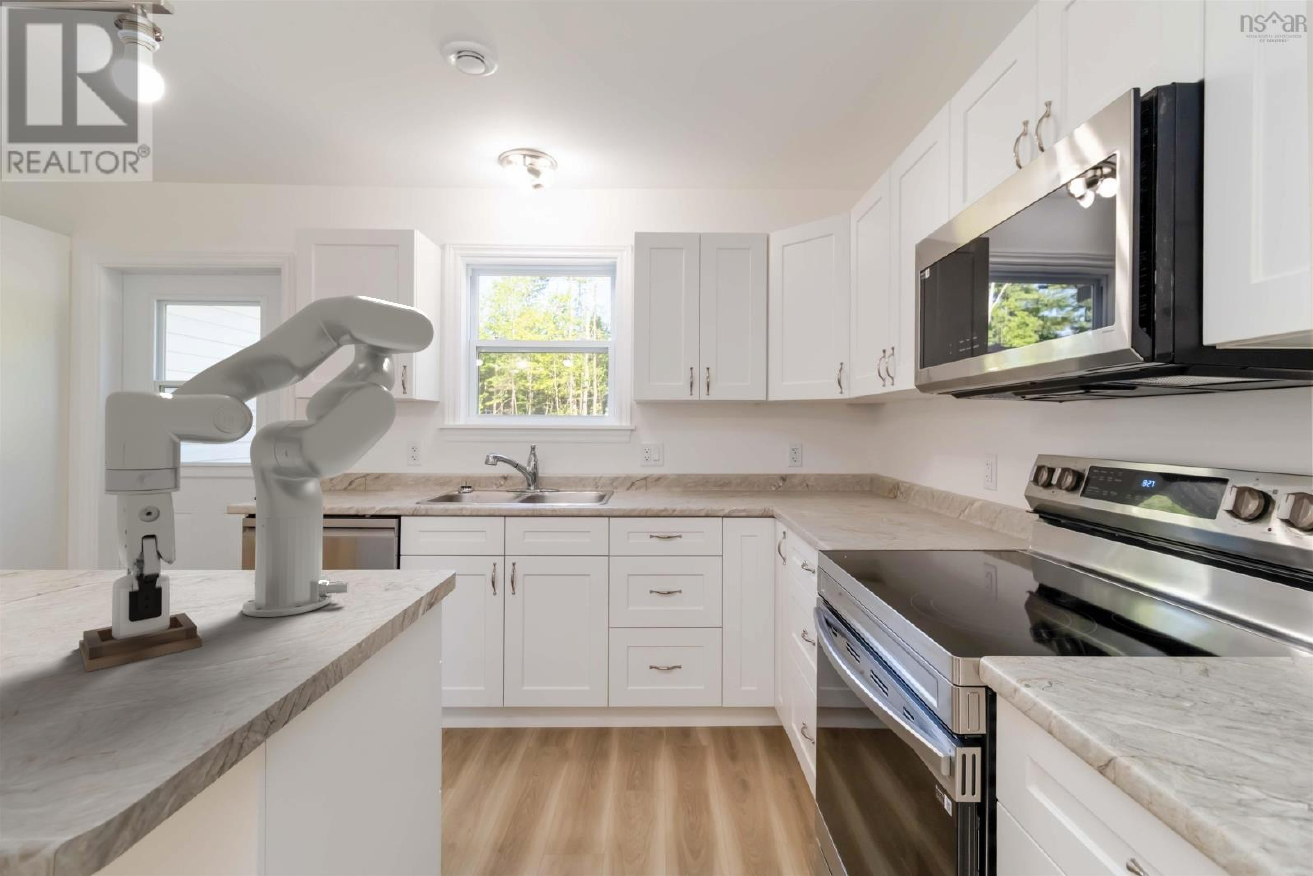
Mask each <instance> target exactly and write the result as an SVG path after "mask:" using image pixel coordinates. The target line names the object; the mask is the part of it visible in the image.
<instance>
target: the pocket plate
mask: <svg viewBox="0 0 1313 876" xmlns="http://www.w3.org/2000/svg"><path fill="white" fill-rule="evenodd" d="M82 632H83V633H82V639H79V641H78V649H79V652H80V655H81V659H82V663H83V665H84V669H85V672H86V673H88V672H89V673H90V672H94V671H98V670H101V669H102V668H103V669H106V668H110V667H114V666H119V665H120V666H121V665H124V664H128V663H134V662H137V661H142V659H143V660H146V659H151V657H152V658H155V657H159V656H160V655H161V656H165V655H168V654H173V653H177V652H183V651H187V650H191V649H192V650H193V649H195V648H200V647H202V646H203V642H202V641H203V638H201V636H200V635H199V634H198V626H197V625H196V624H195V622H194V621H193V620H192V619H191V618H190V617H189V616H188V614H186V613H185V612H182V613H181V612H180V613H176V614H170V625H169V627H168V628H167V629H166V630H163V631H160V632H155V633H149V634H144V635H139V636H134V637H129V638H124V639H119V640H118V639H115V638H114V637H113V636H112V625H110V626H105V627H100V628H99V627H98V628H95V629H89V630H83V631H82ZM182 650H183V651H182ZM97 669H98V670H97Z"/></svg>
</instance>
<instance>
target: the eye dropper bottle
mask: <svg viewBox="0 0 1313 876" xmlns="http://www.w3.org/2000/svg"><path fill="white" fill-rule="evenodd" d="M136 560H137V559H136ZM136 564H137V565H136V566H137V567H143V563H136ZM130 572H132V571H131V569H130ZM140 573H143V571H142V572H138V576H139V575H140ZM170 582H171V581H170V576H169V574H168V573H165V572H163V571H161V587H162V615H161V616H160V617H156V618H151V619H145V620H140V621H135V622H131V621H130V620H129V591H132V573H130V574H128V575H126V574H125V575H124V576H121V577H119V578H118V579H116V580H114V582H113V584H112V591H111V592H112V593H111V595H112V597H111V598H112V601H111V606H112V607H111V626H112V636H113V637H114V638H115V639H118V640H119V639H124V638H129V637H134V636H139V635H144V634H149V633H155V632H160V631H163V630H166V629H167V628H168V627H169V625H170V615H171V611H170V610H171V608H170V607H171V606H170V605H171V603H170V602H171V601H170V600H171V595H170V594H171V586H170V585H171V583H170Z"/></svg>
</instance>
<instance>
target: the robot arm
mask: <svg viewBox="0 0 1313 876" xmlns="http://www.w3.org/2000/svg"><path fill="white" fill-rule="evenodd" d="M434 330H435V329H434V326H433V324H432V321H431V319H430V318H429V316H427V315H426V314H425V312H423V311H421V310H420V309H417V308H415V307H411V306H409V305H408V306H407V305H403V304H398V303H394V302H389V301H386V300H381V299H377V298H372V297H369V296H364V295H355V294H352V295H341V296H334V297H333V296H332V297H325V298H320V299H316V300H314V301H313V302H311V303H309V304H307V305H306V306H304V307H303V308H302V309H301V310H299V311H297V312H296V313H295V314H293V315H292V316H291V317H290V318H288V319H287V320H286V321H284V322H283V323H281V324H280V325H279V326H278V327H276V328H275V329H273V330H272V331H271V332H269V333H268V334H266V335H265V336H264V337H262V338H261V339H259V340H257V341H256V342H255V343H252V344H250V345H248V346H246V347H245V348H242V349H241V350H239V351H237V352H235V353H234V354H232V355H230V356H228V357H226V358H224V359H222V360H220V361H219V362H217V363H214V364H213V365H211V366H209V367H207V368H205V369H204V370H202V371H201V372H199V373H197V374H196V375H194V376H192V378H190V379H189V380H186V382H184V383H183V384H182V385H180V386H179V387H177V388H176V389H175V390H172V392H171V393H169V392H164V391H163V392H162V391H149V390H147V391H146V390H116V391H113V392H111V393H110V394H108V395H107V397H106V398H105V406H104V495H107V496H108V495H109V496H116V531H117V532H116V535H117V537H116V539H117V548H118V549H117V551H118V556H119V561H120V562H121V563H122V565H123V566H124V567H125V569H126V570H125V576H126V575H128V574H130V573H132V591H129V620H130V621H131V622H135V621H140V620H145V619H151V618H156V617H160V616H161V615H162V587H161V572H162V571H161V560H162V561H163V562H164V563H166V564H167V565H170V566H171V565H173V564H174V563H175V562H176V561H177V553H176V533H175V531H176V527H175V525H176V524H175V511H174V509H175V507H174V501H173V494H172V493H177V492H180V491H181V463H182V462H181V447H182V443H186V444H202V445H203V444H204V445H225V444H231V443H234V442H237V441H239V440H241V439H242V438H244V437H245V436H246V435H247V434H249V432H250V430H251V429H252V426H253V424H254V415H253V412H252V410H251V409H250V406H248V405H247V404H246V402H249V401H251V400H252V399H255V398H256V397H260V396H261V395H264V394H267V393H271V392H272V393H273V392H275V391H278V390H282V389H285V388H288V387H291V386H293V385H296V384H297V383H300V382H302V381H303V380H305V379H306V378H307V377H308V376H309V375H310V374H312V373H313V372H314V371H315V370H316V369H317V368H318V367H320V365H321V366H322V364H323V363H324V362H326V360H328V359H329V358H330V357H331V356H332V355H334V354H335V353H336V352H337V351H339V350H340V349H341V348H343V347H344V346H349V345H354V357H353V360H352V361H351V363H350V364H349V365H348V366H347V367H346V368H345V369H343V370H342V371H341V372H340V373H339V374H337V375H336V376H335V377H334V378H332V379H331V380H330V381H328V383H326V384H325V385H324V386H322V387H321V388H319V389H318V390H317V391H316V392H315V393H314V394H313V395H312V396H311V397H310V398H309V400H308V402H307V404H306V407H305V415H306V419H283V420H277V421H274V422H270V423H268V424H266V425H265V426H263V427H261V428H260V429H259V430H258V431H257V432H256V433H255V434H254V436H253V438H252V439H251V442H250V447H249V459H250V464H251V470H252V474H253V478H254V479H253V480H254V487H255V488H254V489H255V538H254V539H255V541H254V543H255V544H254V545H255V548H254V549H255V552H254V553H255V554H254V555H255V556H254V557H255V558H254V597H252V598H250V599H248V600H246V601H245V602H243V604H242V613H243V614H244V615H247V616H250V617H256V618H257V617H258V618H269V617H270V618H272V617H273V618H274V617H284V616H292V615H297V614H298V615H299V614H303V613H307V612H311V611H314V610H319V609H320V608H323V607H324V606H326V605H328V604H330V603H331V602H332V601H333V594H336V595H337V594H349V592H350V585H351V584H350V581H346V580H345V579H342V580H341V579H339V580H331V579H328V573H327V572H325V573H324V572H323V549H324V548H323V546H324V545H323V543H324V542H323V541H324V540H323V537H324V526H323V525H324V496H323V490H322V487H321V483H320V480H319V479H324V480H325V479H331V478H336V477H339V476H341V475H342V474H344V473H346V472H347V471H349V470H350V469H352V468H353V467H354V466H355V464H357V463H358V461H360V460H361V459H362V458H363V457H364V456H365V455H366V454H367V453H368V452H369V451H370V450H371V449H372V448H373V447H374V446H375V445H376V444H377V443H378V442H379V441H380V440H381V439H382V438H383V437H384V436H385V435H386V434H387V433H388V431H389V430H390V429H391V427H392V426H393V424H394V422H395V419H396V416H397V402H396V399H395V397H394V395H393V394H392V392H391V391H392V390H393V388H394V386H395V383H396V371H395V364H394V363H395V362H394V357H393V355H395V354H396V355H397V354H400V355H401V354H414V353H415V354H417V353H420V352H422V351H424V350H426V349H427V348H429V347H430V345H431V344H432V342H433V341H434V340H433V339H434V334H435V331H434ZM136 559H137V560H136ZM136 563H143V567H137V566H136V565H137V564H136ZM130 569H131V571H132V572H130ZM142 571H143V573H140V575H139V576H138V572H142Z"/></svg>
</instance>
